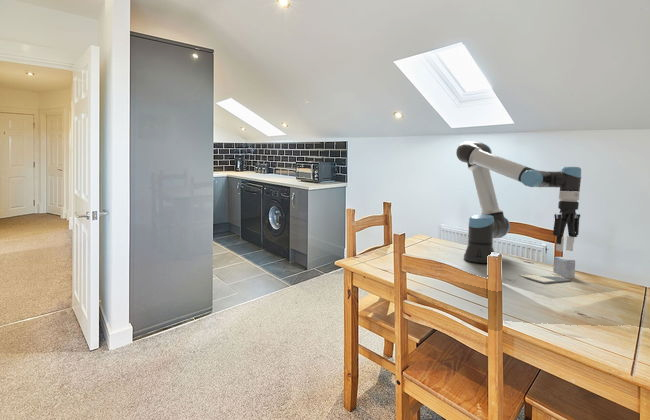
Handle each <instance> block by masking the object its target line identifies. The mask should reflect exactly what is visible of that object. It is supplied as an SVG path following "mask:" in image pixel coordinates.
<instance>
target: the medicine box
mask: <svg viewBox="0 0 650 420" xmlns="http://www.w3.org/2000/svg"><path fill="white" fill-rule="evenodd" d="M553 272H554V273H556V274H557V275H559V276H560V277H562V278H566V279H575V277H576V276H575V275H576V274H575V273H576V260H575V259H572V258H568V257H565V256H554V257H553Z"/></svg>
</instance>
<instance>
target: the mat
mask: <svg viewBox="0 0 650 420" xmlns="http://www.w3.org/2000/svg"><path fill="white" fill-rule="evenodd" d="M519 277H522V278H524V279H525V280H529V281H532V282H536V283H539V284H543V285H551V284H557V283H559V284H560V283H568V282H569V283H570V282H572V281H573V280H572V279H570V278H565V277H563V276H551V275H550V276H549V275H547V276H546V275H545V276H544V275H535V274H519Z"/></svg>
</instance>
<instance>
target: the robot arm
mask: <svg viewBox="0 0 650 420" xmlns="http://www.w3.org/2000/svg"><path fill="white" fill-rule="evenodd" d="M455 153H456V157H457V159H458V160H459V161H461V162H463V163H466V164H467V168H468V170H470V171H471V172H472V176H473V181H474V184H475V189H476V193H477V197H478V201H479V205H480V209H481V213H480V214H474V215H471V216H470V217H469V219H468V220H469V221H468V234H467V235H468V239H467V247H466V249H465V252H464V254H463V259H464V260H465V261H468V262H471V263H481V264H488V263H487V256H488V255H490V254H491V252H494V253H495V250H494V246H493V243H494V239H500V238H503V237H505V236H506V235H507V234H508V233H509V232H510V229H511V224H510V220H509V219H508V218H507V217H506V216H505V215H504V211H503V210H501V209H500V207H499V203H498V200H497V196H496V192H495V187H494V184H493V181H492V180H493V179H492V176H491V172H495V173H496V174H499V175H502V176H504V177H506V178H510V179H513V180H515V181H516V182H518V183H519V182H520V184H521V183H522V184H523V185H524V186H525V187H529V188H559V192H558V193H559V194H558V200H559V201H558V204H557V205H558V210H560V211H559V213H554V216H553V217H554V223H553V231H552V235H553V236H554V237H555V238H556V241H555V242H556V243H555V244H556V245H555V247H556V248H555V250H556V251H557V252H563V251H564V244H565V241H564V240H565V236H564V233H565V231H566V227H567V233H568V235H567V236H566V245H565V250H566V251H569V252H574V243H575V238H577V237H578V236H579V230H580V218H581V214H579V213H577V210H579V204H580V203H579V200H580V190H581V182H582V181H581V180H582V168H581V167H579V166H563V167H561V170H559V171H546V170H538V169H534V168H531V167H528V166H526V165H523V164H521V163H518V162H515V161H512V160H510V159H507V158H504V157H501V156H499V155H496V154H493V152H492V149H491V147H490V146H489V145H487V144H485V143H483V142H475V141H472V140H471V141H469V140H467V141H464V142H461V143H460V144H459V145H458V146H457V149H456V152H455ZM490 171H491V172H490Z"/></svg>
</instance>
